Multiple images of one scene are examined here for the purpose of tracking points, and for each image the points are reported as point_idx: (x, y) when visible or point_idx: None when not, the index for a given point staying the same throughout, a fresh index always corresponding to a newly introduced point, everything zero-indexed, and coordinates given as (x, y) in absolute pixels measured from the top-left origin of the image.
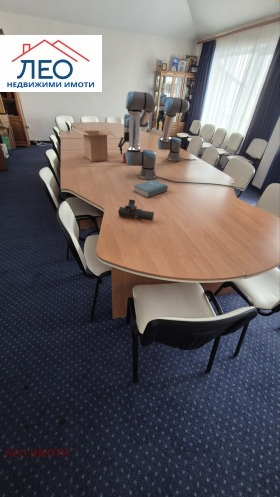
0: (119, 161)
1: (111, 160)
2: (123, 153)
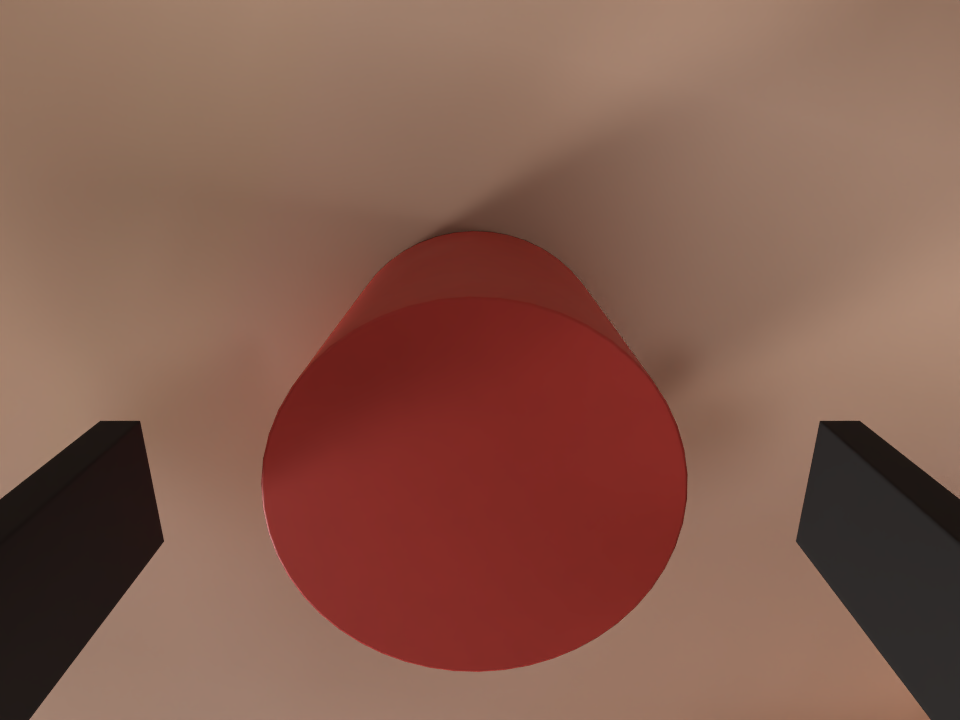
0: None
1: None
2: (637, 590)
